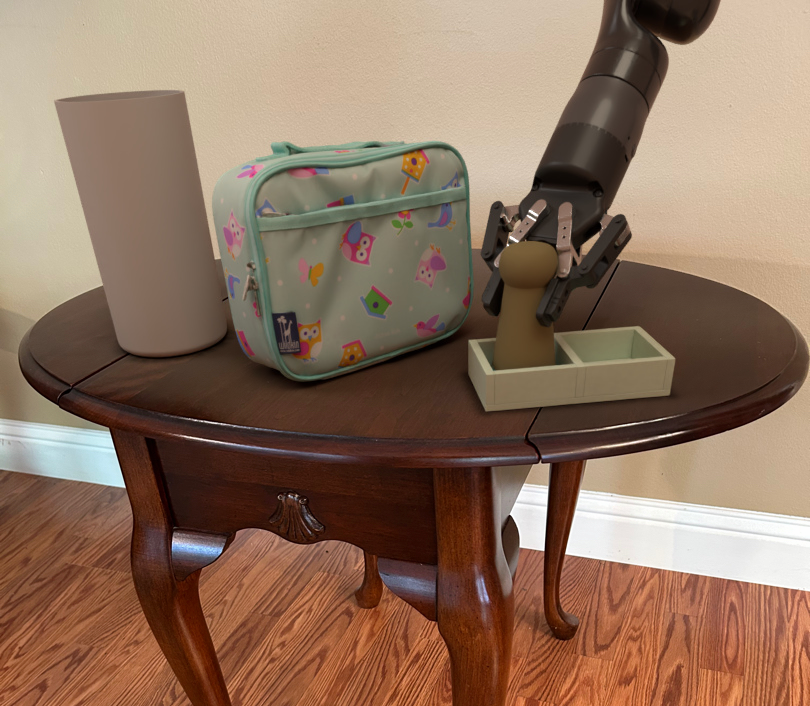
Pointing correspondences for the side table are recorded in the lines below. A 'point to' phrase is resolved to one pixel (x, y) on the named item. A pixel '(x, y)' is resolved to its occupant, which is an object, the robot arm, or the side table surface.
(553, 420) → the side table surface
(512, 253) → the brown game pawn
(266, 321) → the lunch box
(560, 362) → the compartment tray
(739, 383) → the side table surface
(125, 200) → the cylinder vase
